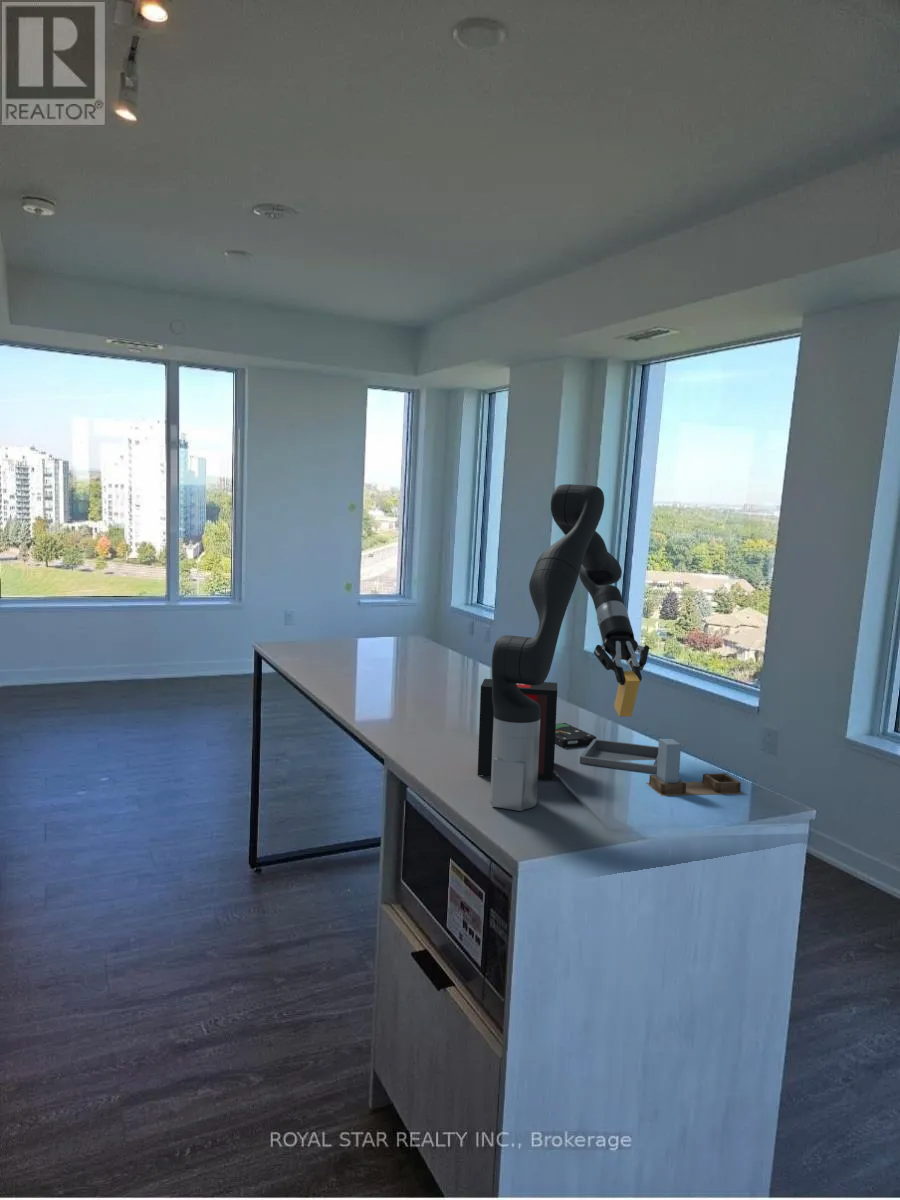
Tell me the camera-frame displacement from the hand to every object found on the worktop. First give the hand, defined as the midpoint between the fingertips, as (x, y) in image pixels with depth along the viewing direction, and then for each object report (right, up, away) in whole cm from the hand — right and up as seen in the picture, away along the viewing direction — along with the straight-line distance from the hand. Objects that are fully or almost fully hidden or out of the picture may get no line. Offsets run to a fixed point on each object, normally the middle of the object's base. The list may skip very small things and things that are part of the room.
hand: (630, 682), depth 179 cm
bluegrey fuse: (+4, -20, -17) cm, 27 cm away
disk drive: (-12, -18, +25) cm, 33 cm away
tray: (-1, -20, +4) cm, 20 cm away
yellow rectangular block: (-1, -7, +4) cm, 9 cm away
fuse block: (+9, -22, -16) cm, 29 cm away
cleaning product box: (-27, -20, -4) cm, 33 cm away
